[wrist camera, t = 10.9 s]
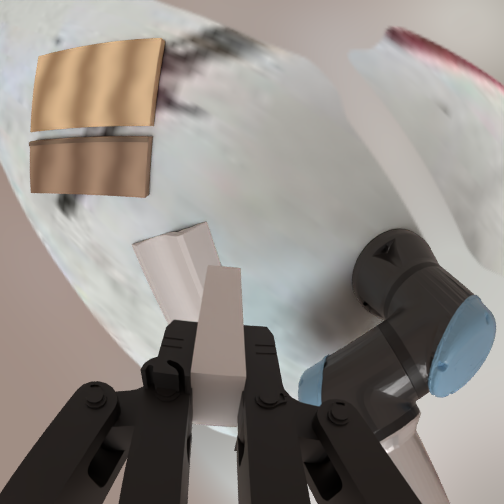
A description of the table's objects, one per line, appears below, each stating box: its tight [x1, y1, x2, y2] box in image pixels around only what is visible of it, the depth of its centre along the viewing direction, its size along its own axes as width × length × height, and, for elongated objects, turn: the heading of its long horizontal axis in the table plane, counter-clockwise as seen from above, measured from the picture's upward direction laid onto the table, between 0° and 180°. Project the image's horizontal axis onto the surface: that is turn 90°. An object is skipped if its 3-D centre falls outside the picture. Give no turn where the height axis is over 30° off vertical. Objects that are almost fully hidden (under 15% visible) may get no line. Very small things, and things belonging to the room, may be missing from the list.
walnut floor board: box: [29, 136, 153, 198], centre depth 34 cm, size 20×8×2 cm, turn 83°
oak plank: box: [31, 38, 165, 132], centre depth 29 cm, size 20×12×2 cm, turn 83°
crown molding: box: [132, 222, 222, 324], centre depth 45 cm, size 31×12×4 cm, turn 15°
